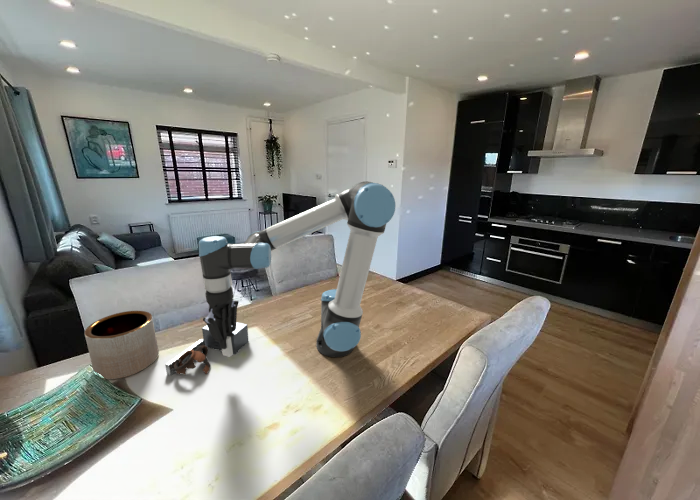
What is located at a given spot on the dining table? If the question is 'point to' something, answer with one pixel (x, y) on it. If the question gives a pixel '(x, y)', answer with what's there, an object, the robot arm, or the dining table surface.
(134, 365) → the planter
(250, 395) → the dining table surface
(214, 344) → the motor bracket
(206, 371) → the brown curved piece
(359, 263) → the robot arm
